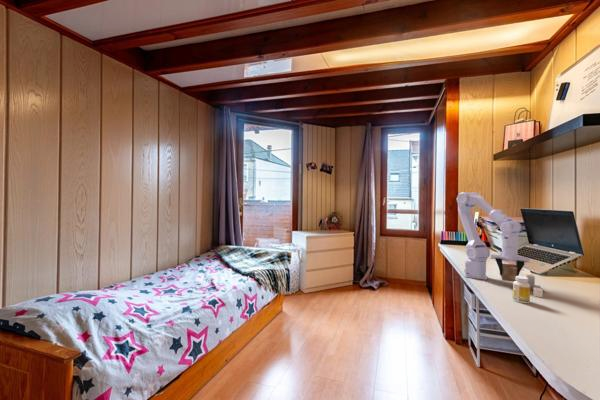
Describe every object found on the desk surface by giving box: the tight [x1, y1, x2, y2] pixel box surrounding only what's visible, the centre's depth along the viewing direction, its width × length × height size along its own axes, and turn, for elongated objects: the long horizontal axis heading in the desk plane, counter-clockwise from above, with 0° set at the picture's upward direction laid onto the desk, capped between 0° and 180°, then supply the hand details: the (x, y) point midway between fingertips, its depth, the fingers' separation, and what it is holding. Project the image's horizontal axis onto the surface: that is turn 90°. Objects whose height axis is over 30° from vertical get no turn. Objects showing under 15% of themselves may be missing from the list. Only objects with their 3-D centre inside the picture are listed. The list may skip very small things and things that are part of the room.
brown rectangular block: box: [500, 263, 517, 282], centre depth 130 cm, size 5×5×7 cm
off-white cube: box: [532, 287, 544, 298], centre depth 118 cm, size 3×3×3 cm
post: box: [525, 274, 545, 294], centre depth 128 cm, size 8×8×6 cm
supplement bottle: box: [512, 275, 531, 304], centre depth 113 cm, size 5×5×10 cm
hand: (508, 276), depth 130 cm, fingers closed on brown rectangular block, 5 cm apart
